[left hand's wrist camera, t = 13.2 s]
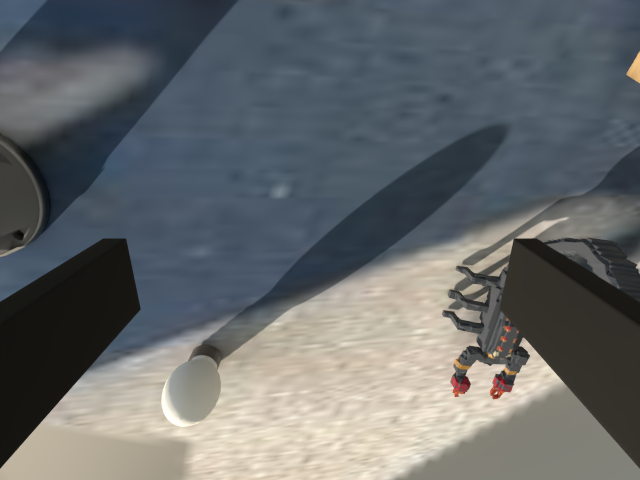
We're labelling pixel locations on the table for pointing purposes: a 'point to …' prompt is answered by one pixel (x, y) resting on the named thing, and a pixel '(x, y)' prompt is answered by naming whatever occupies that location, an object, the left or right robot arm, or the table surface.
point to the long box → (635, 69)
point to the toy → (502, 335)
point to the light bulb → (193, 388)
